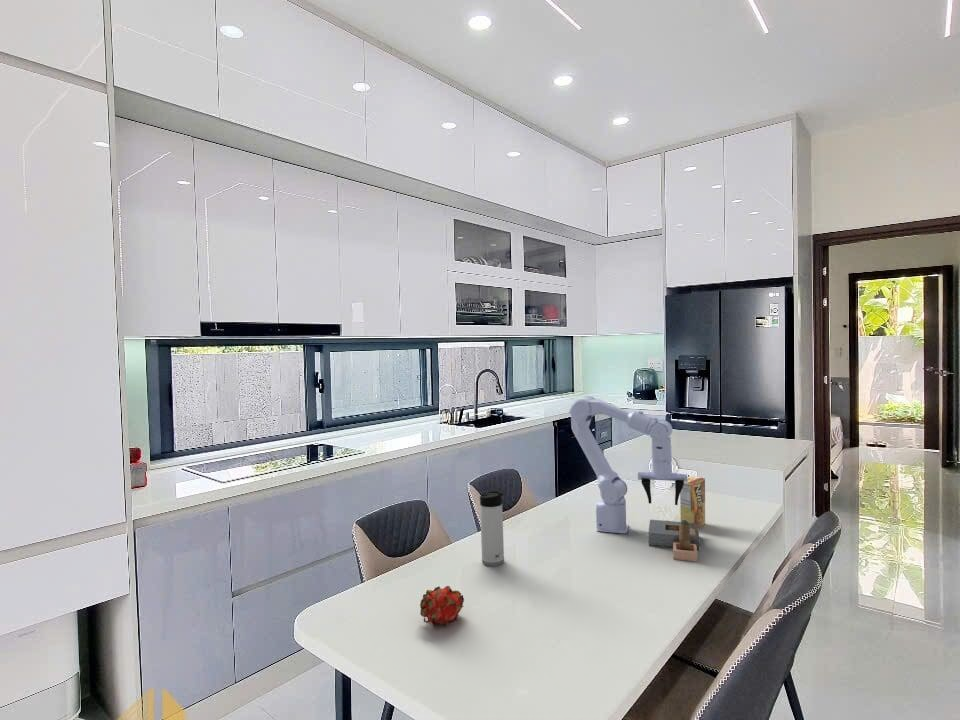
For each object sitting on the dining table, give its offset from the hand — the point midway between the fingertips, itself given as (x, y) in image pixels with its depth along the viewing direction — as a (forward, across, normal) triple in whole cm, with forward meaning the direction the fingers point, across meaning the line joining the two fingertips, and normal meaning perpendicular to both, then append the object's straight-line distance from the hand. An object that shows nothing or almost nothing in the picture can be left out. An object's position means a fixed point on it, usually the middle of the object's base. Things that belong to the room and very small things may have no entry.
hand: (663, 503), depth 165 cm
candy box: (+11, +9, +12) cm, 18 cm away
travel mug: (+10, -45, -32) cm, 56 cm away
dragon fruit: (+10, -46, -65) cm, 80 cm away
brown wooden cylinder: (+10, +6, -14) cm, 18 cm away
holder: (+10, +6, -14) cm, 18 cm away
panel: (+10, +3, -3) cm, 11 cm away
